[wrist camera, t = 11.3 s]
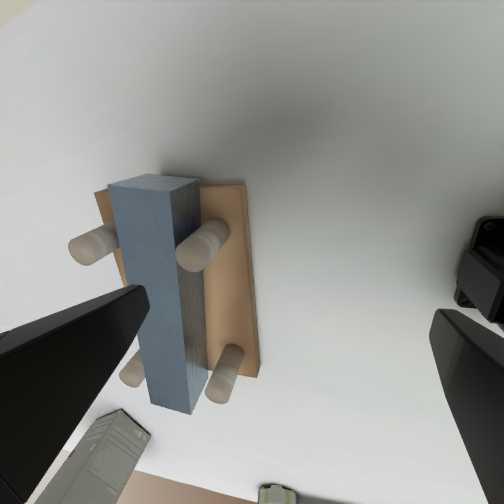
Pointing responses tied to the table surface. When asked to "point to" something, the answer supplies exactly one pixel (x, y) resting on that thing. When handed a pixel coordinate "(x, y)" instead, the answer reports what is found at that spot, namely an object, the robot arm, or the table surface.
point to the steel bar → (165, 283)
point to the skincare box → (98, 463)
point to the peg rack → (215, 283)
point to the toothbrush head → (277, 496)
